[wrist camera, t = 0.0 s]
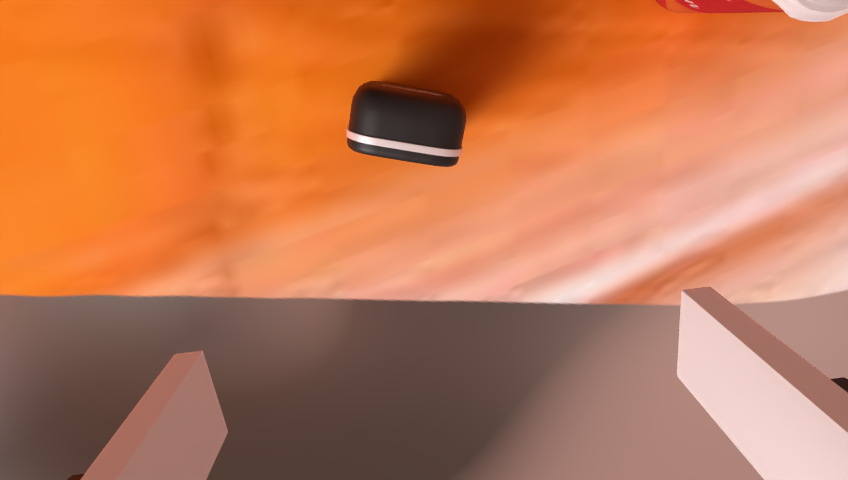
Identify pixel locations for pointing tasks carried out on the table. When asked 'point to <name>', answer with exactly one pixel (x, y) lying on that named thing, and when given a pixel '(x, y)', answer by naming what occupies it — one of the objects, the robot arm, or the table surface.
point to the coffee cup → (764, 7)
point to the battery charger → (406, 124)
